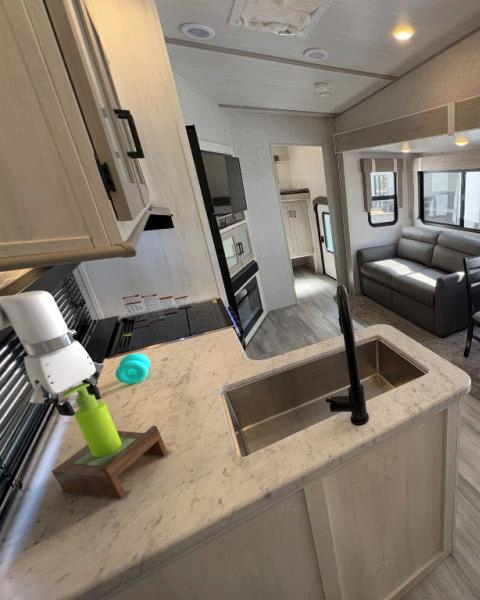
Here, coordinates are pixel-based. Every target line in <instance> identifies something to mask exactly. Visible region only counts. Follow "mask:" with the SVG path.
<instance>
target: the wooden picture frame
mask: <svg viewBox="0 0 480 600" xmlns="http://www.w3.org/2000/svg"><path fill="white" fill-rule="evenodd" d="M117 433H118V435H119V437H120V440H121V442H122V443H121V446H120V447H119V448H118V449H117V450H115V451H114V452H112V453H110V454H108V455H105V456H102V457H94V456H93V455H92V453H91V450H90V448H89V446H88V444H86V445H85V446H84V447H82V448H81V449H80V450H78V451H77V452H75V453H74V454H72V456H70V457H69V458H67V459H66V460H65V461H63V462H61V464H59V465H57V466H56V467H55V468H53V469H52V470H51V473H52V474H53V476H54V478H55V480H56V481H57V483H58V484H59V486H60V487H61V490H62V491H63V492H67V493H76V494H84V495H90V496H91V495H93V496H100V497H107V498H117V499H122V498H123V497H124V496H126V494H127V493H126V491H125V489H124V487H123V485H122V484H121V481H120V480H119V478H118V476H120V475H121V474H122V473H123V472H124V471H125V470H126V469H128V468H129V467H130V466H131V465H132V464H133V463H134V462H135V461H136V460H138V459H139V458H140V457H141V456H142V455H146V456H155V457H166V456H167V455H168V454H169V452H168V450H167V447H166V445H165V443H164V442H165V441H164V440H163V438H162V436H161V433H160V431H159V429H158V426H157V425H152V426H151V427H150V428H148V429H147V430H146V431H144V432H135V431H123V430H117Z"/></svg>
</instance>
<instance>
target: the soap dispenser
mask: <svg viewBox="0 0 480 600" xmlns="http://www.w3.org/2000/svg"><path fill="white" fill-rule="evenodd" d="M88 386H90V384H88V383H79V384H78V385H74V386H72V387H70V388H68V389H66V390H64V391H65V399H67V398H69V397H70V396H71V395H73V394H75V393H77V394H78V397H77V398H76V399H75V403H76V404H77V407H78V409H77V410H75V415H73V416H74V418H75V420H76V422H77V424H78V427H79V428H80V431H81V433H82V436H83V437H84V440H85V442H86V445H88V446H89V448H90V450H91V453H92V455H93V456H94V457H102V456H105V455H108V454H110V453H112V452H114V451H115V450H117V449H118V448H119V447H120V446H121V443H122V442H121V440H120V437H119V435H118V433H117V431H118V430H117V428H116V425H115V423H114V420H113V419H112V416H111V413H110V411H109V408H108V407H107V404H106V402H105V401H98V400H96V398H95V395H94V394H90V393H88V391H87V389H86V387H88Z"/></svg>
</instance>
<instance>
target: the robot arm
mask: <svg viewBox="0 0 480 600" xmlns="http://www.w3.org/2000/svg"><path fill="white" fill-rule="evenodd" d="M9 326H10V327H12V328H13V330H14V332H15V334H16V336H17V338H18V339H19V341H20V343H21V345H22V346H23V349H24V350H25V352H26V353H27V355H26V356H24V357H23V361H24V367H25V370H26V373H27V377H28V379H29V381H30V384H31V386H32V388H33V392H32V395H31V397H30V399H29V403H30V404H49V405H54V406H55V408H56V410H57V412H58V413H59V415H60V416H65V417H73V416H74V415H75V412H76V410H74V408H73V406H72V404H71V402H70V401H69V400H66V398H65V391H67V390H69V389H71V388H73V387H75V386H76V385H77V384H80V383H81V384H83V383H88V384H90V386H88V387H86V389H87V391H88V393H90V394H94V395H95V398H96V400H97V401H99V400H101V399H102V396H101V395H100V394H101V392H100V390H99V388H98V386H97V385H98V384H99V381H98V380H99V378H100V375H101V372H102V370H103V369H104V364H103V363H102V364H101V363H98V362H95V361H93V359H92V357H90V355H89V353H88V352H87V351H86V349H85V348H84V346H83V345H82V344H81V343H80V342H79V341H78V340H76V339H75V338H74V336H75V335H77V331H76V329H74V328H73V329H69V328H68V325H67V323H66V321H65V319H64V316H63V315H62V313H61V311H60V309H59V306H58V305H57V303H56V300H55V299H54V297H53V295H52V294H51V293H50V292H48V291H46V290H32V291H24V292H20V293H16V294H11V295H2V296H1V295H0V331H2V330H4V329H6V328H8V327H9ZM46 393H48V397H44V394H46Z"/></svg>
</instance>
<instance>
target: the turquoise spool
mask: <svg viewBox="0 0 480 600" xmlns="http://www.w3.org/2000/svg"><path fill="white" fill-rule="evenodd" d="M150 367H151V360H150V359H149V358H148V356H147V355H145V354H143V353H131V354H130V353H129V354H127V355H126V356H124V357H122V359H121V360H120V362H119V363H118V366H117V368H116V370H115V375H114V376H115V378H116V380H117V381H119V383H122V384H126V385H133V384H138V383H140V382H141V381H144V379H145V378H146V377H147V375H148V372H149V368H150Z"/></svg>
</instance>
